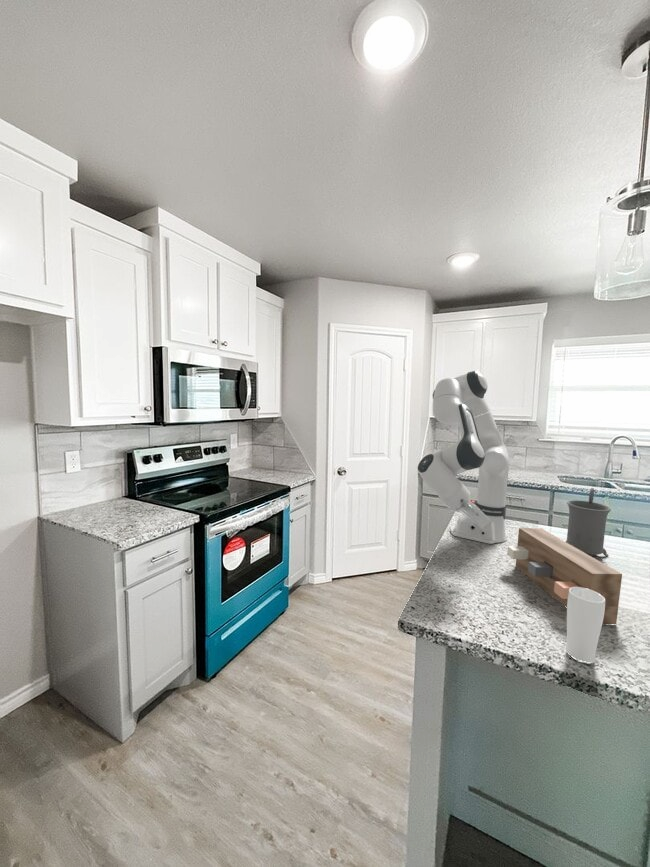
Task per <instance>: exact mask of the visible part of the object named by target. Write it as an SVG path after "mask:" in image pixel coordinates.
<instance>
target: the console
mask: <svg viewBox="0 0 650 867" xmlns="http://www.w3.org/2000/svg"><path fill="white" fill-rule="evenodd" d="M516 546H524V547H525V548H527V549H528V550H529V556H528V559H515V568H516V569H517V570H519V571H520V570H521V571H520V572H522V574H524V575H525V576H526V575H527V576H526V577H528V578H529V579H530V580H531V581H532V580H533V581H532V582H534V583H535V584H536V585H537V584H538V585H537V586H538V587H540V588H541V587H542V588H543V589H544V590H543V589H542V588H541V589H542V590H543V591H544V592H546V591H547V592H548V593H549V594H550V595H549V594H548V593H547V592H546V593H547V594H548V595H549V596H551V597H552V596H553V597H554V598H555V599H556V600H555V599H554V598H553V597H552V598H553V599H554V600H555V601H557V600H558V601H559V602H560V603H562V604H563V605H564V606H566V607H567V599H562V598H561V597H560V596H558V595H557V594H556V593H555V592H554V586H555V582H575V583H577V584H578V585H580V586H581V587H582V588H586V589H590V590H593V591H595V592H597V593H599V594H601V595H602V596H603V597H604V598H605V612H604V619H603V623H602V624H616V625H617V622H618V620H617V619H618V614H619V604H620V596H621V588H622V587H621V585H622V580H623V579H622V578H623V573H621V572H619V571H618V570H615V569H614V568H612V567H610V566H608V565H607V564H605V563H604V562H602V561H600V560H599V559H597V558H595V557H592V556H591V555H590V554H586V553H584V552H582V551H580V550H579V549H577V548H575V547H573V546H572V545H570V544H568V543H566V540H565V541H564V540H563V539H561V538H559V537H557V536H555V535H554V534H552V533H550V532H549V531H547V530H545V529H544V528H539V527H536V528H535V527H519V528H518V536H517V545H516ZM529 562H547V563H548V564H550V565H551V566H552V567H553V573H552V577H535V576H533V575H532V574H531V573H530V572H528V566H529ZM558 601H557V602H558ZM559 602H558V603H559ZM560 603H559V604H560ZM562 604H561V605H562ZM563 605H562V606H563ZM564 606H563V607H564Z"/></svg>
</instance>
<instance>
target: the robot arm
mask: <svg viewBox="0 0 650 867" xmlns="http://www.w3.org/2000/svg"><path fill="white" fill-rule="evenodd" d="M487 391H488V382H487V380H486V378H485V376H484V374H483V373H482V372H480V371H479V370H473V371H469V372H467V373H464V374H462V375H458V376H456V377H454V378H450V377H448V378H447V377H446V378H443V379H441V380H439V381H438V382H437V384H436V386H435V389H434V390H433V393H432V413H433V416H434V418H435V420H437V421H438V422H439V423H441V424H442V425H447V426H457V425H458V427H459V432H460V436H461V437H460V438H459V440H458V441H457V442H455V443H453V444H451V445H449V446H447V447H445V448H442V449H440V450H438V451H436V452H435V453H429V454H426V455H425V456H423V457H422V458H421V460H420V461H419V463H418V465H417V472H418V474H419V476H420V477H421V479H422V480H423V481H424V482H425V484H426V485H427V486H428V487H429V488H430V490H432V491H433V492H435V493H436V494H437V497H438V498H439V499H440V501H441V502H442V503H443V504H444V505H445V506H446V508H448V509H449V510H455V511H458V512H460V515H459V516H458V518H457V520H456V524H453V525H451V526H450V530H449V531H450V534H451V535H453V536H454V537H458V538H463V539H465V540H466V539H467V540H470V541H471V540H472V541H476V542H481V543H485V544H489V545H493V544H496V543H503V542H507V540H508V538H507V533H506V522H505V520H506V518H507V506H506V504H507V503H506V501H507V490H508V480H509V469H510V455H509V451H508V450H507V449H508V448H507V447H506V445H505V442H504V441H503V437H502V436H501V433H500V431H499V428H498V427H497V423H496V421H495V419H494V416H493V414H492V412H491V409H490V406H489V404H488V402H487V401H486V399H485V398H484V397H485V394H486V392H487ZM474 469H478V479H477V480H478V481H477V482H478V485H477V499H476V500H473V499H471V491H470V490H469V489H468V488H467V487H466V486H465V485H464V483H463V482H462V481H461V480H460V479H459V478H457V475H459V474H462V473H464V472H467V471H471V470H474Z"/></svg>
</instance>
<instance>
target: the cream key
mask: <svg viewBox="0 0 650 867" xmlns="http://www.w3.org/2000/svg"><path fill="white" fill-rule="evenodd" d="M506 555H507V556H508V557H509V558H511V559H512V560H516V559H528V556H529V550H528V549H527V548H525V547H524V546H517V545H514V546H512V545H508V546H507V550H506Z"/></svg>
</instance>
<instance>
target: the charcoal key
mask: <svg viewBox="0 0 650 867" xmlns="http://www.w3.org/2000/svg"><path fill="white" fill-rule="evenodd" d="M528 572H530V573H531V574H532V575H533V576H535V577H552V573H553V567H552V566H551V565H550V564H548V563H547V562H529V566H528Z"/></svg>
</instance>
